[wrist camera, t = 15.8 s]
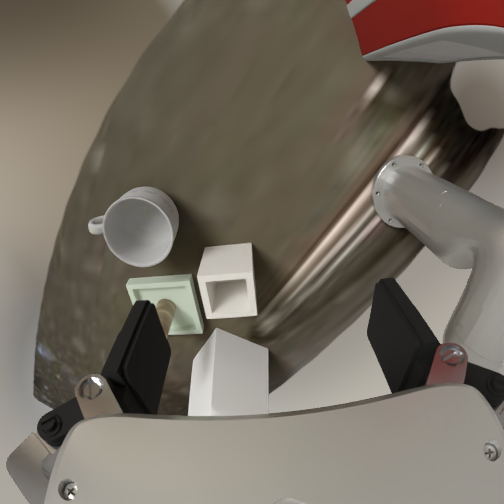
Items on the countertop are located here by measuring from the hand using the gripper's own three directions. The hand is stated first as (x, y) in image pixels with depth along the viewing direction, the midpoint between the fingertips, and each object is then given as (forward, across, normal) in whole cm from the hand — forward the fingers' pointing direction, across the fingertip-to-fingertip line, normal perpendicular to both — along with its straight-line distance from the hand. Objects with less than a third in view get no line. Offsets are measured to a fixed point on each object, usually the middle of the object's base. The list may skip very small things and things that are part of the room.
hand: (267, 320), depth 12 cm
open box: (+33, +5, +16) cm, 37 cm away
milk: (+34, +8, +38) cm, 51 cm away
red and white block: (+34, -25, -26) cm, 49 cm away
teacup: (+34, +18, +5) cm, 38 cm away
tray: (+33, +18, +23) cm, 44 cm away
